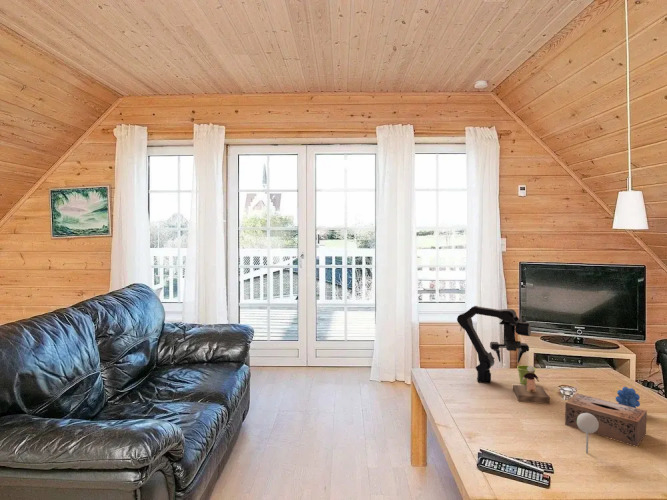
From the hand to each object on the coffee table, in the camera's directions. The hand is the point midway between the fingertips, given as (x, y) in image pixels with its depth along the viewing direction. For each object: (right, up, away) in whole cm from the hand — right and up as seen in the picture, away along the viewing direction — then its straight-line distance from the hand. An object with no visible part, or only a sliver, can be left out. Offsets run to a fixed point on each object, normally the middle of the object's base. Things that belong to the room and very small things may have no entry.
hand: (508, 362), depth 228 cm
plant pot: (+11, -13, +4) cm, 18 cm away
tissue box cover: (+20, -16, -49) cm, 55 cm away
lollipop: (+2, -17, -67) cm, 69 cm away
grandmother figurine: (+5, -11, -14) cm, 18 cm away
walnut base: (+5, -14, -14) cm, 20 cm away
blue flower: (+41, -15, -34) cm, 55 cm away
